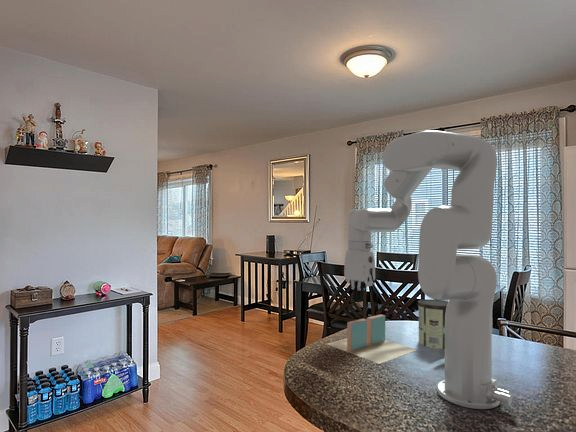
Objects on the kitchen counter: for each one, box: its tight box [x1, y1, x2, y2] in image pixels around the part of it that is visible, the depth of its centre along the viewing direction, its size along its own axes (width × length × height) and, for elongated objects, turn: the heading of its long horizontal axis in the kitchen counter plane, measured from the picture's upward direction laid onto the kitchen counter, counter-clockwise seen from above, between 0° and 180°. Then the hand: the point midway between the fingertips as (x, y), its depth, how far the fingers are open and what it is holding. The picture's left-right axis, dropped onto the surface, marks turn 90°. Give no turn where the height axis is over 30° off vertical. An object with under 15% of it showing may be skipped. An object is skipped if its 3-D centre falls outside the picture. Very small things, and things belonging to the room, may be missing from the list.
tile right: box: [366, 314, 386, 345], centre depth 116 cm, size 2×7×8 cm, turn 128°
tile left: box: [346, 318, 367, 351], centre depth 111 cm, size 2×7×8 cm, turn 128°
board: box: [326, 338, 417, 365], centre depth 111 cm, size 20×18×1 cm
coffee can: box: [417, 298, 449, 350], centre depth 116 cm, size 10×10×14 cm
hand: (358, 301), depth 122 cm, fingers closed
